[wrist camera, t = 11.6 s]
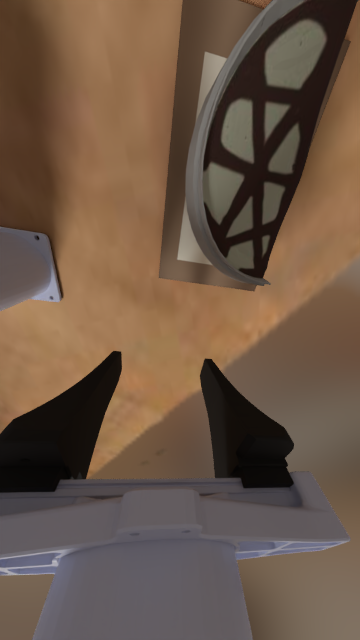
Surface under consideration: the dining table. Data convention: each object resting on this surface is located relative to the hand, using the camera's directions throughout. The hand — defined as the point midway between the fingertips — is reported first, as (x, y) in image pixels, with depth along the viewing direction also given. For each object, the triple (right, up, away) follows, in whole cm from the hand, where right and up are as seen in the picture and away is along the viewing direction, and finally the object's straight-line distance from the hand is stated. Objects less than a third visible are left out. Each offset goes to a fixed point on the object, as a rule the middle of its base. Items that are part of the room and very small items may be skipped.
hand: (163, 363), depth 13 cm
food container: (+4, +16, +3) cm, 17 cm away
